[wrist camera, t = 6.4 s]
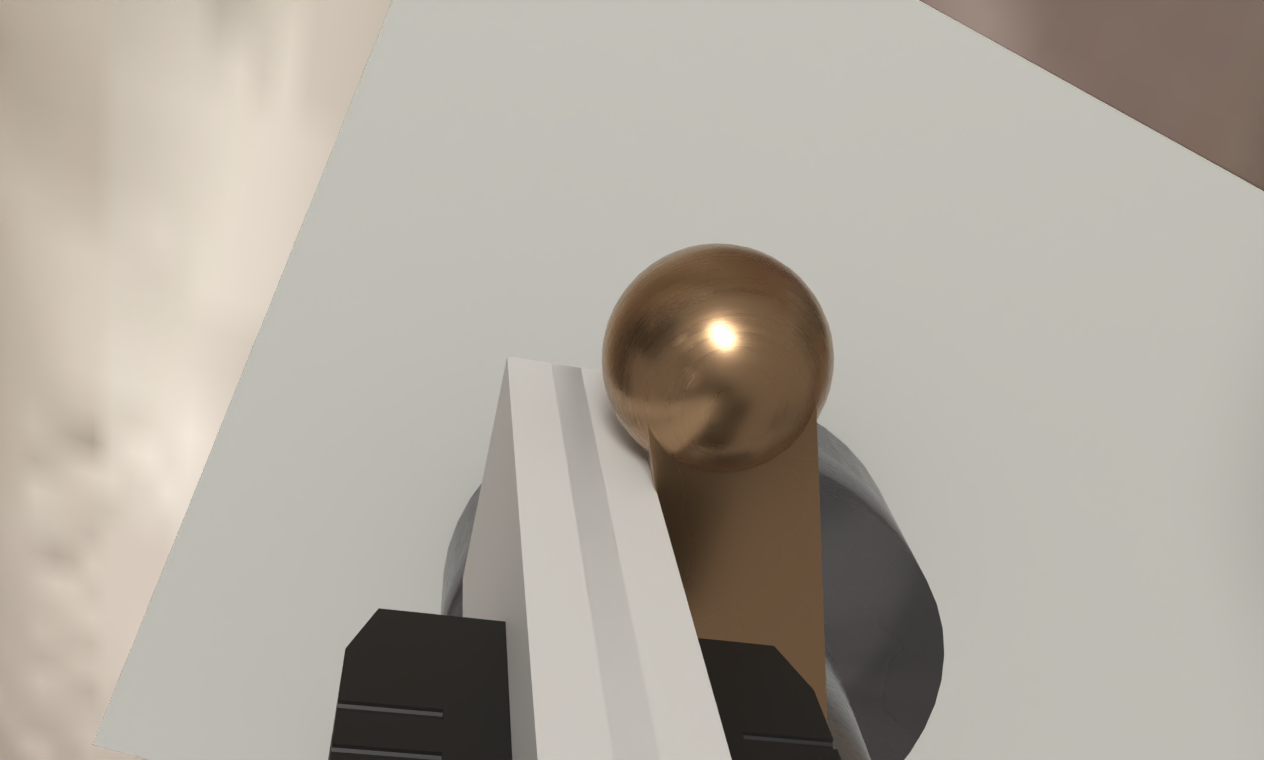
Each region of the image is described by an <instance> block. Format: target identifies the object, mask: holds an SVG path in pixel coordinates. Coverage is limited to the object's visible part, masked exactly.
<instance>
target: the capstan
mask: <svg viewBox="0 0 1264 760" xmlns="http://www.w3.org/2000/svg"><path fill="white" fill-rule="evenodd" d="M833 371H834V351H833V342H832V335H831V331H830V327H829V324H828V321H827V319H826V316H825V314H824V312H823V309H822V307H821V305H820V303H819V301H818V300H817V298H816V297H815V295H814V293H813V292H812V291H811V290H810V288H809V287H808V286H807V285H806V284H805V282H804V281H803V280H802V279H801V278H800V277H799V276H798V275H797V274H796V273H795V272H794V271H793V270H791V269H790V268H789V267H787V266H786V265H784V264H783V263H781V262H780V261H778V260H777V259H775V258H774V257H772V256H769V255H767V254H765V253H763V252H761V251H758V250H755V249H752V248H749V247H744V246H738V245H733V244H720V243H714V244H701V245H696V246H691V247H687V248H684V249H681V250H678V251H675V252H673V253H671V254H669V255H666V256H664V257H662V258H661V259H659V260H657V261H656V262H654V263H653V264H651V265H650V266H648V267H647V268H646V269H645V270H643V271H642V272H641V273H640V274H639V275H638V276H637V277H636V278H635V279H634V280H633V281H632V282H631V283H630V284H629V286H628V287H627V288H626V289H625V291H624V292H623V294H622V295H621V296H620V298H619V299H618V301H617V303H616V305H615V307H614V308H613V310H612V313H611V315H610V318H609V321H608V323H607V327H606V331H605V335H604V339H603V346H602V373H603V380H604V384H605V389H606V392H607V395H608V398H609V401H610V403H611V406H612V409H613V410H614V412H615V414H616V416H617V418H618V420H619V421H620V423H621V424H622V426H623V427H624V428H625V429H626V431H627V432H628V433H629V435H630V436H631V437H632V438H633V439H634V440H635V441H636V442H637V443H638V444H639V445H640V446H641V447H643V448H644V449H645V452H646V456H647V459H648V463H649V467H650V470H651V474H652V479H653V483H654V488H655V491H656V492H657V495H658V499H659V502H660V506H661V509H662V513H663V516H664V520H665V524H666V527H667V531H668V534H669V538H670V541H671V545H672V549H673V552H674V556H675V559H676V563H677V566H678V570H679V573H680V577H681V581H682V584H683V588H684V591H685V595H686V598H687V602H688V606H689V609H690V613H691V616H692V620H693V623H694V627H695V630H696V634H697V638H703V639H713V640H723V641H733V642H742V643H752V644H762V645H771V646H775V647H776V649H777V650H778V651H779V652H780V653H781V654H782V655H783V656H784V657H785V659H786V660H787V661H788V662H789V663H790V664H791V665H792V666H793V667H794V669H795V670H796V671H797V672H798V673H799V674H800V675H801V676H802V677H803V679H804V680H805V681H806V682H807V683H808V684H809V685H810V686H811V687H812V688H813V690H814V691H815V694H816V697H817V699H818V702H819V704H820V707H821V709H822V712H823V714H824V717H825V719H826V722H827V724H828V727H829V730H830V732H831V735H832V737H833V749H837V750H838V752H839V755H840V757H841V760H904V759H905V758H906V757H907V756H908V754H909V753H910V752H911V750H912V748H913V747H914V745H915V744H916V742H917V740H918V739H919V737H920V735H921V734H922V732H923V730H924V729H925V726H926V724H927V722H928V719H929V717H930V715H931V713H932V710H933V708H934V706H935V702H936V699H937V695H938V691H939V688H940V684H941V680H942V671H943V662H944V641H943V628H942V624H941V619H940V615H939V611H938V607H937V603H936V601H935V599H934V596H933V594H932V591H931V589H930V587H929V584H928V582H927V580H926V578H925V576H924V574H923V572H922V570H921V568H920V567H919V565H918V563H917V561H916V559H915V557H914V555H913V553H912V551H911V549H910V548H909V546H908V544H907V542H906V540H905V538H904V536H903V534H902V532H901V530H900V528H899V527H898V525H897V523H896V521H895V519H894V517H893V515H892V513H891V511H890V509H889V508H888V506H887V504H886V502H885V500H884V498H883V496H882V494H881V492H880V490H879V488H878V487H877V485H876V483H875V482H874V480H873V479H872V477H871V475H870V474H869V472H868V471H867V469H866V468H865V466H864V465H863V463H862V462H861V461H860V460H859V459H858V458H857V457H856V456H855V454H854V453H853V452H852V451H851V450H850V449H849V448H848V447H847V445H845V444H844V443H843V442H842V441H841V440H839V439H838V438H837V437H836V436H835V435H833V434H832V433H831V432H830V431H829V430H827V429H826V428H825V427H823V426H821V425H820V424H818V423H817V419H818V417H819V415H820V413H821V411H822V409H823V407H824V405H825V403H826V400H827V397H828V394H829V391H830V387H831V382H832V376H833ZM481 485H482V483H481ZM481 485H480V486H479V487H478V489H477V490H476V491H475V493H474V494H473V495H472V497H471V498H470V500H469V502H468V503H467V505H466V507H465V509H464V511H463V513H462V515H461V516H460V518H459V520H458V522H457V524H456V527H455V530H454V533H453V536H452V538H451V541H450V544H449V547H448V551H447V557H446V562H445V567H444V573H443V588H442V603H441V615H448V616H458V617H463V575H464V570H465V565H466V560H467V555H468V550H469V545H470V540H471V535H472V530H473V525H474V520H475V515H476V510H477V505H478V500H479V495H480V490H481Z"/></svg>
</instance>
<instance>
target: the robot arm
mask: <svg viewBox="0 0 1264 760" xmlns="http://www.w3.org/2000/svg"><path fill="white" fill-rule="evenodd" d="M328 760H841V757H840V755H839V752H838V750H837V749H833V737H832V735H831V732H830V730H829V727H828V724H827V722H826V719H825V717H824V714H823V712H822V709H821V707H820V704H819V702H818V699H817V697H816V694H815V691H814V690H813V688H812V687H811V686H810V685H809V684H808V683H807V682H806V681H805V680H804V679H803V677H802V676H801V675H800V674H799V673H798V672H797V671H796V670H795V669H794V667H793V666H792V665H791V664H790V663H789V662H788V661H787V660H786V659H785V657H784V656H783V655H782V654H781V653H780V652H779V651H778V650H777V649H776V647H775V646H771V645H762V644H752V643H742V642H733V641H723V640H713V639H703V638H697V634H696V630H695V627H694V623H693V620H692V616H691V613H690V609H689V606H688V602H687V598H686V595H685V591H684V588H683V584H682V581H681V577H680V573H679V570H678V566H677V563H676V559H675V556H674V552H673V549H672V545H671V541H670V538H669V534H668V531H667V527H666V524H665V520H664V516H663V513H662V509H661V506H660V502H659V499H658V495H657V492H656V491H655V488H654V483H653V479H652V474H651V470H650V467H649V463H648V459H647V456H646V452H645V449H644V448H643V447H641V446H640V445H639V444H638V443H637V442H636V441H635V440H634V439H633V438H632V437H631V436H630V435H629V433H628V432H627V431H626V429H625V428H624V427H623V426H622V424H621V423H620V421H619V420H618V418H617V416H616V414H615V412H614V410H613V409H612V406H611V403H610V401H609V398H608V395H607V392H606V389H605V384H604V380H603V373H602V371H599V370H592V369H585V368H581V367H575V366H568V365H561V364H555V363H548V362H542V361H535V360H529V359H522V358H515V357H509V356H507V360H506V365H505V370H504V375H503V380H502V385H501V390H500V395H499V400H498V405H497V410H496V415H495V420H494V425H493V430H492V435H491V440H490V445H489V450H488V455H487V460H486V465H485V470H484V475H483V480H482V485H481V490H480V495H479V500H478V505H477V510H476V515H475V520H474V525H473V530H472V535H471V540H470V545H469V550H468V555H467V560H466V565H465V570H464V575H463V617H458V616H448V615H438V614H429V613H419V612H410V611H400V610H391V609H381V608H378V610H377V611H376V612H375V613H374V614H373V616H372V617H371V618H370V619H369V620H368V622H367V623H366V624H365V625H364V627H363V628H362V629H361V630H360V631H359V633H358V634H357V635H356V636H355V637H354V639H353V640H352V641H351V642H350V644H349V645H348V646H347V647H346V648H345V654H344V660H343V667H342V673H341V680H340V686H339V692H338V699H337V705H336V712H335V718H334V725H333V731H332V738H331V744H330V751H329V757H328Z"/></svg>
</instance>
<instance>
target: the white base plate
mask: <svg viewBox="0 0 1264 760" xmlns="http://www.w3.org/2000/svg"><path fill="white" fill-rule="evenodd" d="M714 243H720V244H733V245H738V246H744V247H749V248H752V249H755V250H758V251H761V252H763V253H765V254H767V255H769V256H772V257H774V258H775V259H777V260H778V261H780V262H781V263H783V264H784V265H786V266H787V267H789V268H790V269H791V270H793V271H794V272H795V273H796V274H797V275H798V276H799V277H800V278H801V279H802V280H803V281H804V282H805V284H806V285H807V286H808V287H809V288H810V290H811V291H812V292H813V293H814V295H815V297H816V298H817V300H818V301H819V303H820V305H821V307H822V309H823V312H824V314H825V316H826V319H827V321H828V324H829V327H830V331H831V335H832V342H833V351H834V371H833V376H832V382H831V387H830V391H829V394H828V397H827V400H826V403H825V405H824V407H823V409H822V411H821V413H820V415H819V417H818V419H817V423H818V424H820V425H821V426H823V427H825V428H826V429H827V430H829V431H830V432H831V433H832V434H833V435H835V436H836V437H837V438H838V439H839V440H841V441H842V442H843V443H844V444H845V445H847V447H848V448H849V449H850V450H851V451H852V452H853V453H854V454H855V456H856V457H857V458H858V459H859V460H860V461H861V462H862V463H863V465H864V466H865V468H866V469H867V471H868V472H869V474H870V475H871V477H872V479H873V480H874V482H875V483H876V485H877V487H878V488H879V490H880V492H881V494H882V496H883V498H884V500H885V502H886V504H887V506H888V508H889V509H890V511H891V513H892V515H893V517H894V519H895V521H896V523H897V525H898V527H899V528H900V530H901V532H902V534H903V536H904V538H905V540H906V542H907V544H908V546H909V548H910V549H911V551H912V553H913V555H914V557H915V559H916V561H917V563H918V565H919V567H920V568H921V570H922V572H923V574H924V576H925V578H926V580H927V582H928V584H929V587H930V589H931V591H932V594H933V596H934V599H935V601H936V603H937V607H938V611H939V615H940V619H941V624H942V628H943V641H944V662H943V671H942V680H941V684H940V688H939V691H938V695H937V699H936V702H935V706H934V708H933V710H932V713H931V715H930V717H929V719H928V722H927V724H926V726H925V729H924V730H923V732H922V734H921V735H920V737H919V739H918V740H917V742H916V744H915V745H914V747H913V748H912V750H911V752H910V753H909V754H908V756H907V757H906V758H905V759H904V760H1264V191H1262V190H1261V189H1259V188H1257V187H1255V186H1253V185H1252V184H1250V183H1248V182H1246V181H1244V180H1243V179H1241V178H1239V177H1237V176H1235V175H1233V174H1232V173H1230V172H1228V171H1226V170H1224V169H1223V168H1221V167H1219V166H1217V165H1215V164H1214V163H1212V162H1210V161H1208V160H1206V159H1205V158H1203V157H1201V156H1199V155H1197V154H1196V153H1194V152H1192V151H1190V150H1188V149H1187V148H1185V147H1183V146H1181V145H1179V144H1178V143H1176V142H1174V141H1172V140H1170V139H1168V138H1167V137H1165V136H1163V135H1161V134H1159V133H1158V132H1156V131H1154V130H1152V129H1150V128H1149V127H1147V126H1145V125H1143V124H1141V123H1140V122H1138V121H1136V120H1134V119H1132V118H1131V117H1129V116H1127V115H1125V114H1123V113H1122V112H1120V111H1118V110H1116V109H1114V108H1113V107H1111V106H1109V105H1107V104H1105V103H1104V102H1102V101H1100V100H1098V99H1096V98H1094V97H1093V96H1091V95H1089V94H1087V93H1085V92H1084V91H1082V90H1080V89H1078V88H1076V87H1075V86H1073V85H1071V84H1069V83H1067V82H1066V81H1064V80H1062V79H1060V78H1058V77H1057V76H1055V75H1053V74H1051V73H1049V72H1048V71H1046V70H1044V69H1042V68H1040V67H1039V66H1037V65H1035V64H1033V63H1031V62H1030V61H1028V60H1026V59H1024V58H1022V57H1020V56H1019V55H1017V54H1015V53H1013V52H1011V51H1010V50H1008V49H1006V48H1004V47H1002V46H1001V45H999V44H997V43H995V42H993V41H992V40H990V39H988V38H986V37H984V36H983V35H981V34H979V33H977V32H975V31H974V30H972V29H970V28H968V27H966V26H965V25H963V24H961V23H959V22H957V21H955V20H954V19H952V18H950V17H948V16H946V15H945V14H943V13H941V12H939V11H937V10H936V9H934V8H932V7H930V6H928V5H927V4H925V3H923V2H921V1H919V0H393V1H392V3H391V6H390V8H389V11H388V13H387V16H386V18H385V21H384V23H383V26H382V28H381V30H380V33H379V35H378V38H377V40H376V43H375V45H374V48H373V50H372V53H371V55H370V58H369V60H368V63H367V65H366V68H365V70H364V73H363V75H362V78H361V80H360V83H359V85H358V88H357V90H356V92H355V95H354V97H353V100H352V102H351V105H350V107H349V110H348V112H347V115H346V117H345V120H344V122H343V125H342V127H341V130H340V132H339V135H338V137H337V140H336V142H335V145H334V147H333V150H332V152H331V154H330V157H329V159H328V162H327V164H326V167H325V169H324V172H323V174H322V177H321V179H320V182H319V184H318V187H317V189H316V192H315V194H314V197H313V199H312V202H311V204H310V207H309V209H308V212H307V214H306V216H305V219H304V221H303V224H302V226H301V229H300V231H299V234H298V236H297V239H296V241H295V244H294V246H293V249H292V251H291V254H290V256H289V259H288V261H287V264H286V266H285V269H284V271H283V274H282V276H281V278H280V281H279V283H278V286H277V288H276V291H275V293H274V296H273V298H272V301H271V303H270V306H269V308H268V311H267V313H266V316H265V318H264V321H263V323H262V326H261V328H260V331H259V333H258V336H257V338H256V341H255V343H254V345H253V348H252V350H251V353H250V355H249V358H248V360H247V363H246V365H245V368H244V370H243V373H242V375H241V378H240V380H239V383H238V385H237V388H236V390H235V393H234V395H233V398H232V400H231V403H230V405H229V407H228V410H227V412H226V415H225V417H224V420H223V422H222V425H221V427H220V430H219V432H218V435H217V437H216V440H215V442H214V445H213V447H212V450H211V452H210V455H209V457H208V460H207V462H206V465H205V467H204V469H203V472H202V474H201V477H200V479H199V482H198V484H197V487H196V489H195V492H194V494H193V497H192V499H191V502H190V504H189V507H188V509H187V512H186V514H185V517H184V519H183V522H182V524H181V527H180V529H179V531H178V534H177V536H176V539H175V541H174V544H173V546H172V549H171V551H170V554H169V556H168V559H167V561H166V564H165V566H164V569H163V571H162V574H161V576H160V579H159V581H158V584H157V586H156V589H155V591H154V593H153V596H152V598H151V601H150V603H149V606H148V608H147V611H146V613H145V616H144V618H143V621H142V623H141V626H140V628H139V631H138V633H137V636H136V638H135V641H134V643H133V646H132V648H131V651H130V653H129V655H128V658H127V660H126V663H125V665H124V668H123V670H122V673H121V675H120V678H119V680H118V683H117V685H116V688H115V690H114V693H113V695H112V698H111V700H110V703H109V705H108V708H107V710H106V713H105V715H104V717H103V720H102V722H101V725H100V727H99V730H98V732H97V735H96V737H95V740H94V742H93V745H95V746H99V747H102V748H106V749H110V750H114V751H117V752H121V753H125V754H129V755H132V756H136V757H140V758H144V759H147V760H328V757H329V751H330V744H331V738H332V731H333V725H334V718H335V712H336V705H337V699H338V692H339V686H340V680H341V673H342V667H343V660H344V654H345V648H346V647H347V646H348V645H349V644H350V642H351V641H352V640H353V639H354V637H355V636H356V635H357V634H358V633H359V631H360V630H361V629H362V628H363V627H364V625H365V624H366V623H367V622H368V620H369V619H370V618H371V617H372V616H373V614H374V613H375V612H376V611H377V610H378V608H381V609H391V610H400V611H410V612H419V613H429V614H438V615H441V603H442V588H443V573H444V567H445V562H446V557H447V551H448V547H449V544H450V541H451V538H452V536H453V533H454V530H455V527H456V524H457V522H458V520H459V518H460V516H461V515H462V513H463V511H464V509H465V507H466V505H467V503H468V502H469V500H470V498H471V497H472V495H473V494H474V493H475V491H476V490H477V489H478V487H479V486H480V485H481V483H482V480H483V475H484V470H485V465H486V460H487V455H488V450H489V445H490V440H491V435H492V430H493V425H494V420H495V415H496V410H497V405H498V400H499V395H500V390H501V385H502V380H503V375H504V370H505V365H506V360H507V356H509V357H515V358H522V359H529V360H535V361H542V362H548V363H555V364H561V365H568V366H575V367H581V368H585V369H592V370H599V371H602V346H603V339H604V335H605V331H606V327H607V323H608V321H609V318H610V315H611V313H612V310H613V308H614V307H615V305H616V303H617V301H618V299H619V298H620V296H621V295H622V294H623V292H624V291H625V289H626V288H627V287H628V286H629V284H630V283H631V282H632V281H633V280H634V279H635V278H636V277H637V276H638V275H639V274H640V273H641V272H642V271H643V270H645V269H646V268H647V267H648V266H650V265H651V264H653V263H654V262H656V261H657V260H659V259H661V258H662V257H664V256H666V255H669V254H671V253H673V252H675V251H678V250H681V249H684V248H687V247H691V246H696V245H701V244H714Z"/></svg>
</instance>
